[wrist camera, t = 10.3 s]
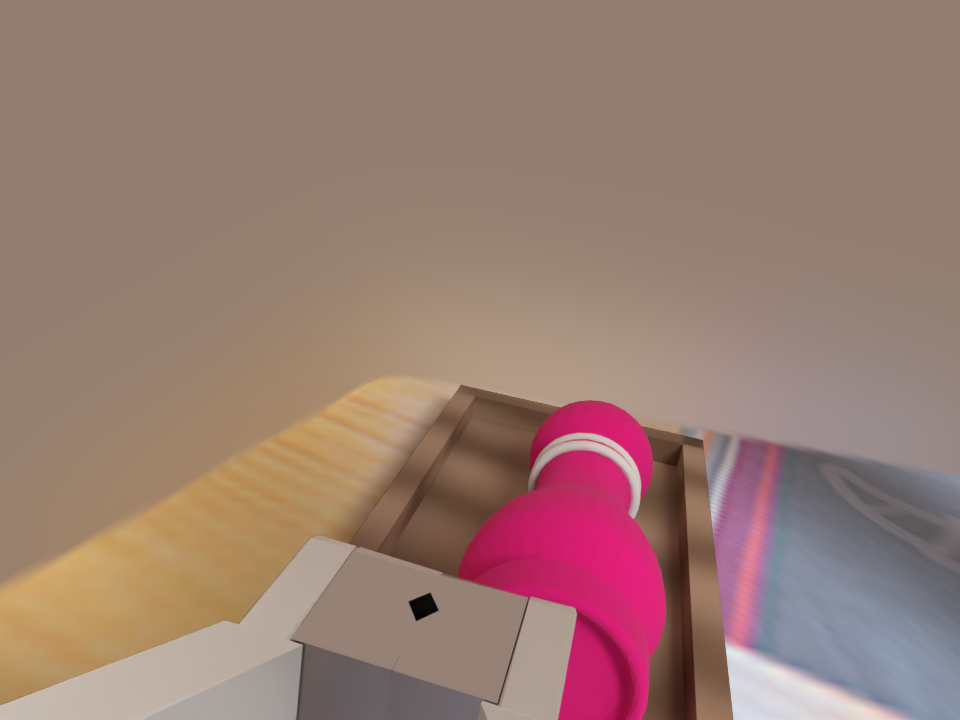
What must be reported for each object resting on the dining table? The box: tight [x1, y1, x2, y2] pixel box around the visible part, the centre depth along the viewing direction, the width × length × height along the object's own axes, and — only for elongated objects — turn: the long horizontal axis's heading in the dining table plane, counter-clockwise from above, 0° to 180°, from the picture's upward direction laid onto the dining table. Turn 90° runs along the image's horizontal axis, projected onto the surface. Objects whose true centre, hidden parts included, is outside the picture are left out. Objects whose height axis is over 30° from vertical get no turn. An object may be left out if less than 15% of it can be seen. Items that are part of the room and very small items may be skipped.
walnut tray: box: [349, 385, 733, 720], centre depth 35 cm, size 23×15×2 cm, turn 166°
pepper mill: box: [458, 400, 666, 720], centre depth 31 cm, size 7×7×20 cm
